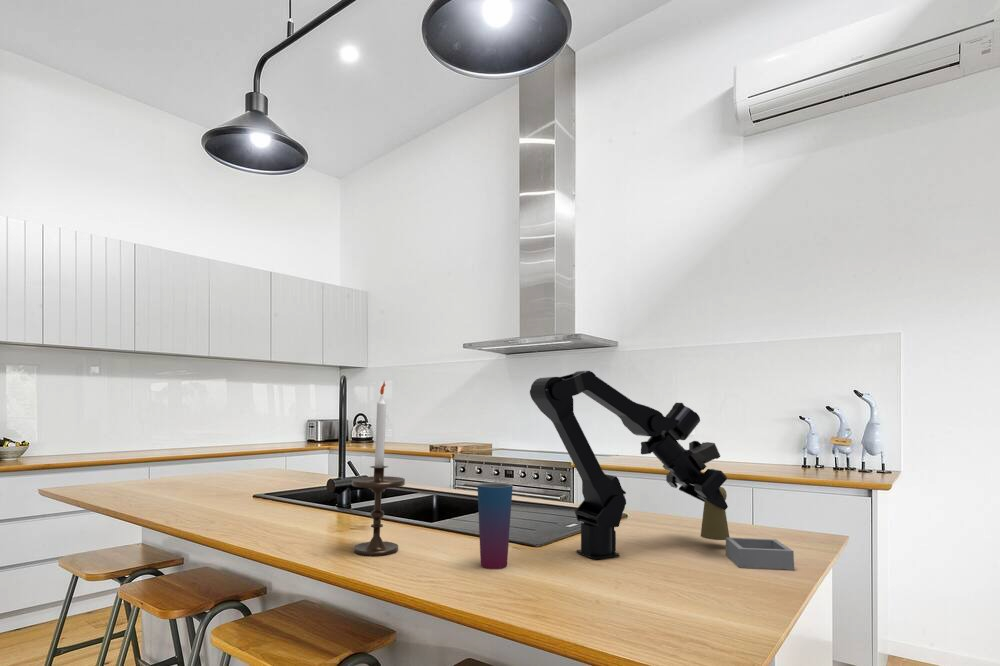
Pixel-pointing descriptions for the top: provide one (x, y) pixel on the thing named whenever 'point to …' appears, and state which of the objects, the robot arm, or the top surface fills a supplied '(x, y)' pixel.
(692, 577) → the top surface
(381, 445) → the candlestick
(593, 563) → the top surface
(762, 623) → the top surface
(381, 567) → the top surface
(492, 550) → the cup
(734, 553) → the open box
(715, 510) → the olive pawn
